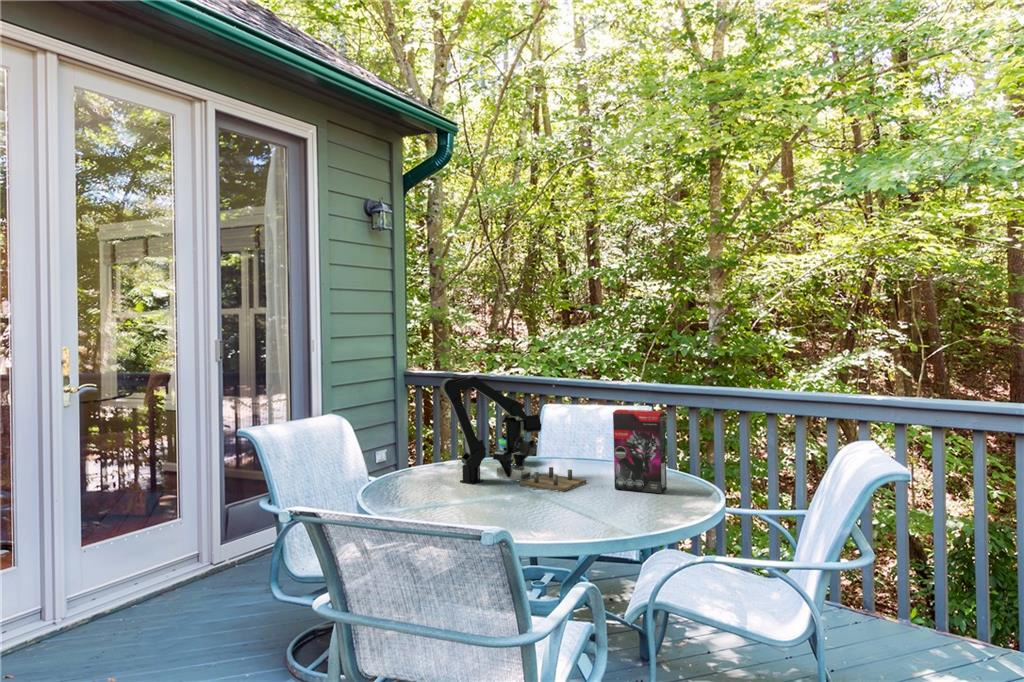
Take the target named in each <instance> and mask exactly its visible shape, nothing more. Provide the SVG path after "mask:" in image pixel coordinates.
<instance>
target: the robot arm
mask: <svg viewBox="0 0 1024 682" xmlns="http://www.w3.org/2000/svg"><path fill="white" fill-rule="evenodd" d="M440 388H441V389H440V390H441V392H442V393H443V395H445V397H446V399H447V400H448V401H449V402H448V403H450V404H451V407H452V410H453V412H454V415H455V417H456V421H457V423H458V424H459V428H460V430H461V433H462V436H463V439H464V446H465V453H464V454H462V456H461V457H460V460H461V462H462V464H463V465H462V466H461V468H462V479H460V480H459V481H460V482H459V483H463V482H466V483H465V484H470V483H474V484H476V482H477V483H479V482H480V481H481V482H482V481H484V478H481V464H482V461H484V459H485V458H486V455H487V454H486V451H487V448H486V447H485V444H484V440H483V438H481V437H480V436H478V437H477V436H476V434H475V433H476V432H475V431H474V428H473V426H472V424H471V421H470V418H469V416H468V413H467V411H466V409H465V406H464V403H463V400H462V399H463V397H462V391H464V390H469V389H471V388H473V389H475V391H477V392H479V393H481V394H482V395H483V396H485V397H487V398H488V399H489V400H491V401H493V402H494V403H495V404H496V405H497V406H498V408H500V409H501V410H502V411H503V412H505V414H507V415H509V417H507V415H503V416H502V418H500V419H499V422H500V423H503V424H505V436H503V437H502V438H503V439H504V440H506V447H504V450H505V451H502V450H499V449H498V450H497V451H494V452H493V453H492V460H494V461H495V460H496V461H497V462H499V464H500V466H502V467H503V469H504V471H505V473H506V475H507V477H510V475H511V463H512V462H513V461H514V459H515V463H516V465H515V466H522V467H524V466H525V465H524V463H525V461H526V459H527V458H529V457H530V455H534V453H535V451H536V450H537V449H538V448H537V442H536V440H534V439H531V440H529V441H526V440H525V437H524V436H523V435H522V431H523V432H524V433H525V434H528V433H530V434H531V433H541V431H542V421H541V419H540V415H539V413H533V414H526V412H525V411H524V410H523V405H522V404H521V402H520V401H517V400H515V399H513V398H512V397H511V398H510V397H508V396H505V395H503V394H502V393H500V392H498V391H497V390H495V389H494V388H492V387H491V386H489V385H488V384H486V383H485V382H483V381H482V380H481V379H479V378H478V377H477V376H475V375H469V376H466V377H459V378H455V379H453V378H450V377H449V378H445V379H443V380H442V382H441V383H440ZM516 417H518V419H517V418H516ZM524 440H525V441H524ZM512 455H514V459H511V458H512ZM481 482H480V483H481Z"/></svg>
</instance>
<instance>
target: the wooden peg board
mask: <svg viewBox="0 0 1024 682" xmlns="http://www.w3.org/2000/svg"><path fill="white" fill-rule="evenodd" d="M533 474H534V476H533V477H531V478H530V479H527V480H524V481H519V486H520V485H522V486H521V487H526V486H529V487H528V488H532V487H536V488H535V489H539V488H543V489H542V490H546V489H550V490H549V491H553V490H558V491H557V492H560V491H564V492H567V491H569V490H568V489H570V490H571V488H572V489H574V488H573V487H575V488H577V487H579V486H578V485H580V486H582V485H584V484H583V483H585V484H587V483H586V482H588V480H587V479H586V478H579V477H573V469H571V468H569V469H567V476H563V475H562V476H561V475H558V474H554V467H553V466H550V467H548V474H547V473H543V474H541V475H540V473H539V471H534V473H533ZM581 484H582V485H581ZM576 486H577V487H576ZM566 490H567V491H566Z"/></svg>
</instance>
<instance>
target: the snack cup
mask: <svg viewBox="0 0 1024 682" xmlns="http://www.w3.org/2000/svg"><path fill="white" fill-rule="evenodd" d="M524 441H526V440H525V439H524ZM498 443H499V446H498V447H499V449H498V451H499V450H502V451H505V450H504V447H506V440H504V439H503V437H502V438H500V439H498ZM511 459H514V455H512V458H511ZM511 464H516V463H515V459H514V461H513V462H512V463H511Z"/></svg>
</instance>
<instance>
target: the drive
mask: <svg viewBox="0 0 1024 682" xmlns="http://www.w3.org/2000/svg"><path fill="white" fill-rule="evenodd" d="M531 468H532V467H529V466H523V467H522V466H516V465H511V475H510V477H507V475H506V473H505V471H504V469H503V467H502V465H500V466H497V467H496V478H497V477H499V478H505V479H504V480H507V479H512V480H511V481H514V480H519V481H518V482H522V480H524V481H525V479H527V480H528V478H530V479H531V478H532V470H531ZM499 478H498V479H499Z"/></svg>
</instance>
